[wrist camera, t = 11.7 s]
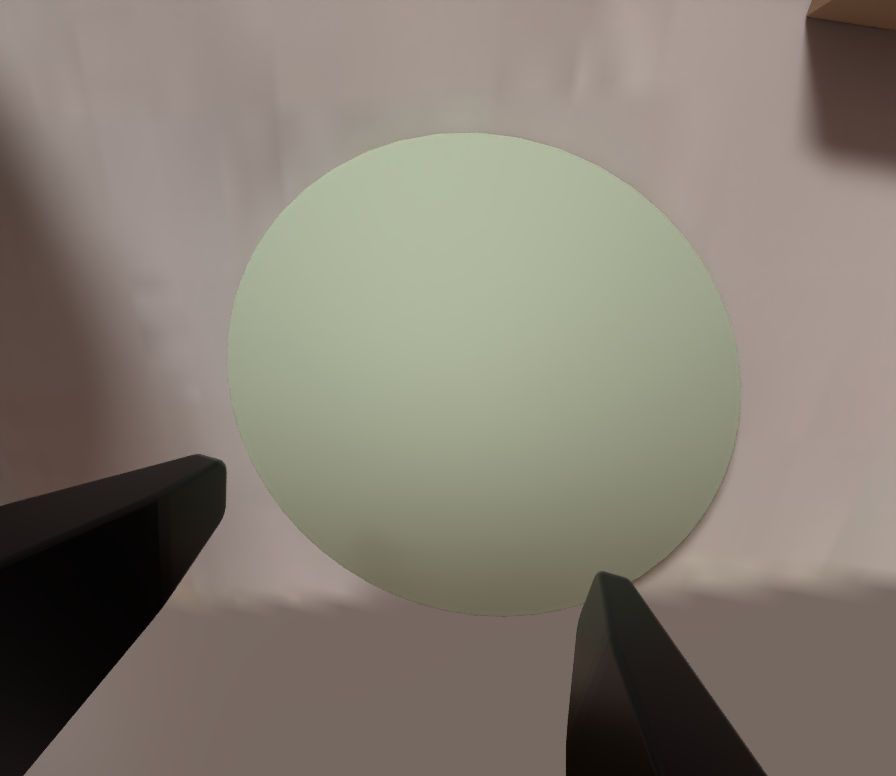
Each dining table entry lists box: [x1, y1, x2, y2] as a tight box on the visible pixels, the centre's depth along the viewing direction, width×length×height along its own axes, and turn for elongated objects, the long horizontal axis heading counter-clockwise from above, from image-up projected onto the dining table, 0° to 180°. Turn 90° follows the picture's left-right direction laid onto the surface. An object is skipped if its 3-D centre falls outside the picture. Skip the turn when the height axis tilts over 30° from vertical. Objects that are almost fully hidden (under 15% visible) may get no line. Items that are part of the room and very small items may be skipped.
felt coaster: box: [227, 133, 741, 617], centre depth 12 cm, size 11×11×1 cm
